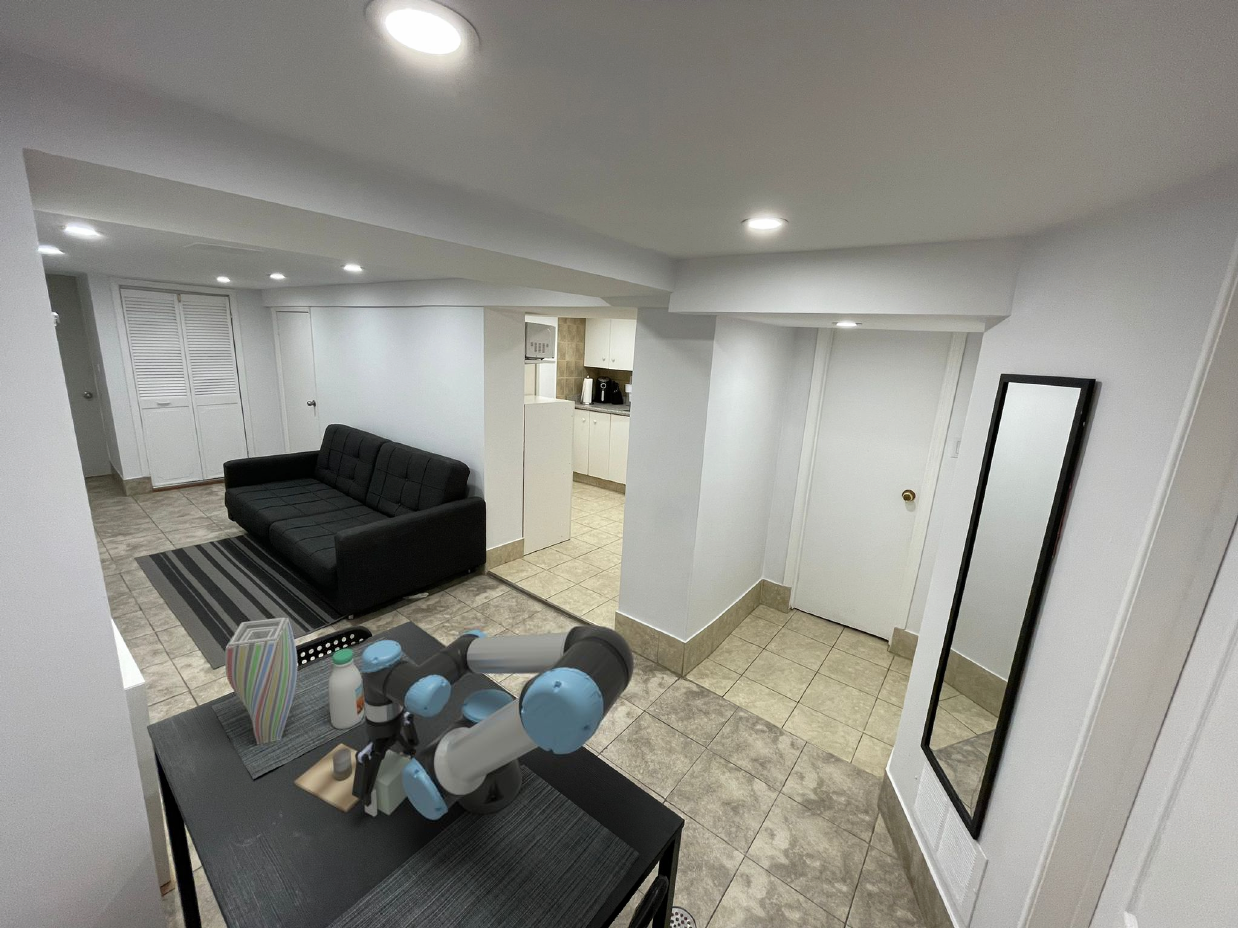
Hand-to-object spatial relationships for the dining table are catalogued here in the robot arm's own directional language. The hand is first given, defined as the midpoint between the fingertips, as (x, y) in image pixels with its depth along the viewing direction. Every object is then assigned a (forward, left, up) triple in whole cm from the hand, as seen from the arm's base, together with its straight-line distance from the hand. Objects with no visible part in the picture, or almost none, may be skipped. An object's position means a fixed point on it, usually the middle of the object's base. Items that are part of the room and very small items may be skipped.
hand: (389, 794), depth 111 cm
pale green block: (0, 0, 0) cm, 0 cm away
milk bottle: (+27, -12, 0) cm, 29 cm away
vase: (+39, 0, 0) cm, 39 cm away
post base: (+13, +1, 0) cm, 13 cm away
